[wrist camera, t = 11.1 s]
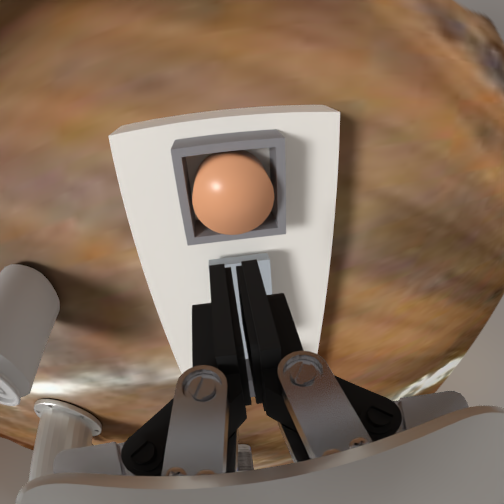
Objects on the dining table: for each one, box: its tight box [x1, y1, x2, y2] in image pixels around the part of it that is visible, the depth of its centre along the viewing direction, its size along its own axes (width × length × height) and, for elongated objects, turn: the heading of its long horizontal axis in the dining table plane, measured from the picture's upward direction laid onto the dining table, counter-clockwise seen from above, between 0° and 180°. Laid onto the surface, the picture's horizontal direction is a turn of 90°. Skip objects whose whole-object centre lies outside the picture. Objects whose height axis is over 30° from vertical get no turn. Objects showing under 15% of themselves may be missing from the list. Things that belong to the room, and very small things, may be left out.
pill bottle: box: [237, 444, 254, 472], centre depth 48 cm, size 5×5×8 cm
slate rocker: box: [208, 253, 272, 359], centre depth 22 cm, size 8×4×1 cm, turn 3°
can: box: [0, 264, 60, 406], centre depth 20 cm, size 8×8×12 cm
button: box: [192, 150, 274, 235], centre depth 18 cm, size 4×4×2 cm
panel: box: [109, 105, 340, 374], centre depth 26 cm, size 30×14×5 cm, turn 3°
